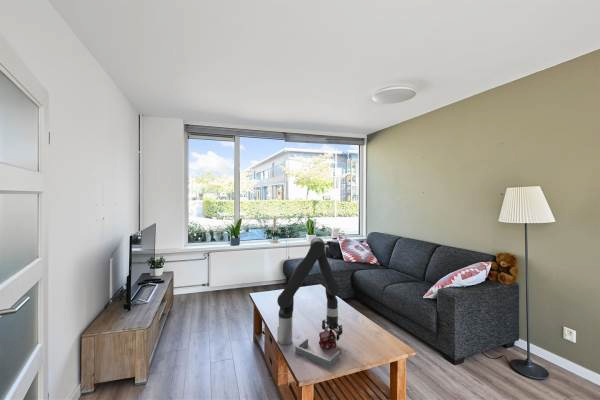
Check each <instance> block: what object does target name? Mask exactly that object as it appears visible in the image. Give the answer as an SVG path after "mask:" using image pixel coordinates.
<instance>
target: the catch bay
mask: <svg viewBox="0 0 600 400" xmlns="http://www.w3.org/2000/svg"><path fill="white" fill-rule="evenodd" d="M308 346H309V338H305V339H304V340H302V341H301V342H300V343H298V344H297V345H295V347H294V350H295V351H294V353H295V354H296V355H299V356H301V357H303V358H306V359H308V360H310V361H312V362H314V363H316V364H320V366H323V367H326V368H328V369H331V368H332V367H333V366H334V364H336V362H338V361H339V360H340V359H341V351H340V350H337V352H335V353H334V354H333V355H332V356H331V357H330V358H326V357H324V356H321V355H319V354H316V353H314V352H312V351H309V350H307V349H305V348H306V347H308Z"/></svg>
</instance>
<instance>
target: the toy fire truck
mask: <svg viewBox="0 0 600 400" xmlns="http://www.w3.org/2000/svg"><path fill="white" fill-rule="evenodd" d="M318 337H319V341H318V344H319V346H320V347H321V348H322V347H323V349H324V350H325V351H328V350H329V349H330V347H331V348H332V349H335V348H336V347H337V340H336V333H335V331H334V330H332V329H328V331H321V332H319V336H318Z"/></svg>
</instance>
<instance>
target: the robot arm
mask: <svg viewBox="0 0 600 400" xmlns="http://www.w3.org/2000/svg"><path fill="white" fill-rule="evenodd" d="M309 246H310V247H309V248H308V249H309V250H308V252H307V254H306V255H305V257H304V258H303V259H302V260H301V261H300V262H299V263H298V264H297V266H296V267H295V269H294V270H293V272H292V274H291V276H290V278H289V279H288V282H287V284H286V286H285V288H284V289H283V290H282V291H281V292H280V294H279V296H278V297H277V306H278V307H279V310H278V325H277V328H276V329H277V335H276V338H277V342H278V344H280V345H281V346H288V345H290V344H292V343H293V317H294V315H293V314H294V305H295V304H294V303H295V300H294V297H295V295H296V293H297V292H298V290H299V289H300V288H301V287H302V285H303V284H304V283H305V281H306V279H307V278H308V277H309V274H310V273H311V271H312V270H313V267H314V266H315V264H316V263H317V262H318V265H319V270H320V273H321V276H322V280H323V281H324V283H325V284H326V285H325V296H326V317H325V318H326V319H325V318H324V319H323V320H322V321H321V329H322V330H324V331H329V330H330V329H331V330H332V331H333V332H334V333H335V336H336V342H338V341H339V340H340V336H342V335H343V324H339V323H338V322H339V304H338V303H339V302H338V300H339V299H337V296H339V294H340V285H339V284H338V282H337V280H336V279H335V276H334V273H333V271H332V267H331V266H330V262H329V260H328V258H327V254H326V246H325V241H324V240H323V238H321V237H318V236H317V237H313V238H312V239H311V241H310V244H309ZM324 331H323V332H324Z"/></svg>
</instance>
